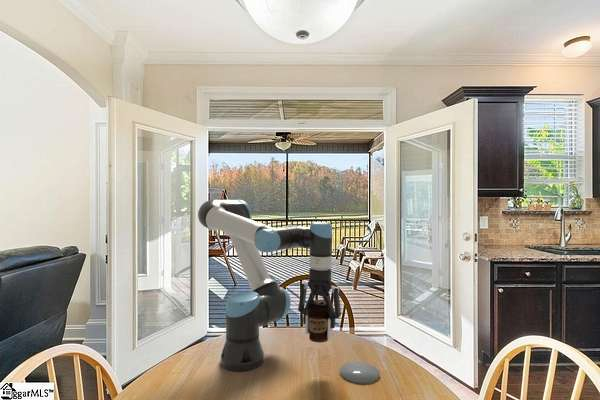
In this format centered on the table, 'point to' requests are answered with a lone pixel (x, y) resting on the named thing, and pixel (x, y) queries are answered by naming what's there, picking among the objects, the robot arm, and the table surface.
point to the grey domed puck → (359, 372)
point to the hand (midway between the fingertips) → (318, 334)
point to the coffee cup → (318, 321)
